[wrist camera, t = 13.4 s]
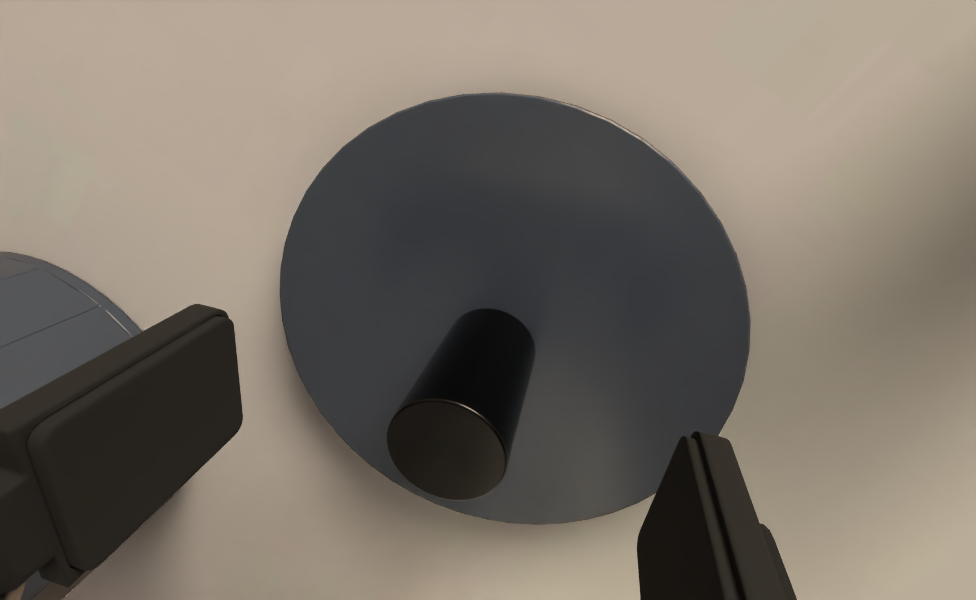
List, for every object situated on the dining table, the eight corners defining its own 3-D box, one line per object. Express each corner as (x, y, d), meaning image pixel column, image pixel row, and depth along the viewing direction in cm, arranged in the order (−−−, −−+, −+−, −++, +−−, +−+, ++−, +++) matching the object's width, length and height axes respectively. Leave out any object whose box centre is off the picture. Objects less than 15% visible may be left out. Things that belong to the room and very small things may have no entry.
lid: (301, 441, 19) (190, 568, 14) (295, 52, 13) (98, 26, 8) (654, 544, 17) (675, 738, 12) (831, 147, 11) (1022, 191, 6)
